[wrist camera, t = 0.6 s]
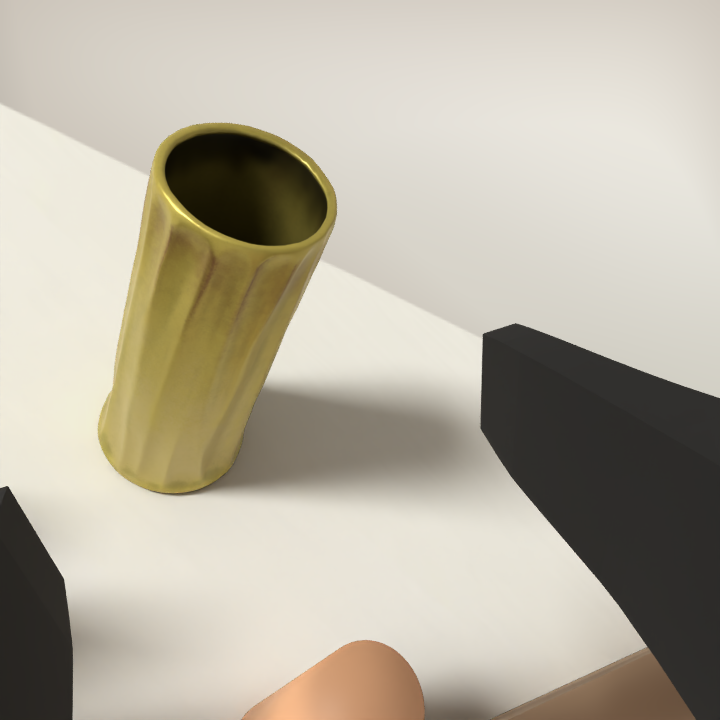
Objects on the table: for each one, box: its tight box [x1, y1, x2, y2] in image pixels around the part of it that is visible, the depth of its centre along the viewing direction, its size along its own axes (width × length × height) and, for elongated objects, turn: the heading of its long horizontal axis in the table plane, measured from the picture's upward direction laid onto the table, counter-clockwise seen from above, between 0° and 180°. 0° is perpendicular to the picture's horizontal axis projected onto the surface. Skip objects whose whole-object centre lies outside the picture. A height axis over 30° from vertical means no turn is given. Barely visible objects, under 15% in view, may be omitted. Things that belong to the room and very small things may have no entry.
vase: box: [98, 123, 337, 493], centre depth 23 cm, size 6×6×14 cm
